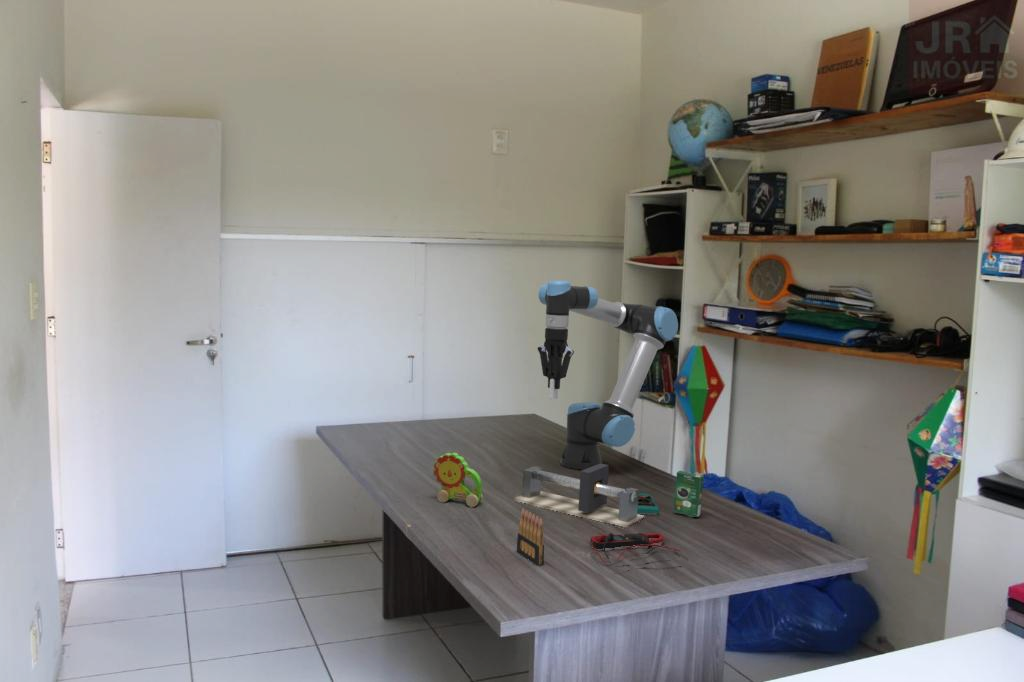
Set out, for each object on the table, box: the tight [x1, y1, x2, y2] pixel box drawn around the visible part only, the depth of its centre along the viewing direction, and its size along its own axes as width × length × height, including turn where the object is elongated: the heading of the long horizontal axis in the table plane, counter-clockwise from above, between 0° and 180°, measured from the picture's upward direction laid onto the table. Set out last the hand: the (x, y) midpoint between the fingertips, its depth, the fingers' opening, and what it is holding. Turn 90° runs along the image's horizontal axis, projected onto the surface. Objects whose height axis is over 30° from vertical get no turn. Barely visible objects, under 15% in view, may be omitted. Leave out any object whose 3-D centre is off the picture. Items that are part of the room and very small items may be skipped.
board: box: [513, 490, 645, 527], centre depth 259 cm, size 39×12×1 cm, turn 55°
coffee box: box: [673, 470, 705, 516], centre depth 257 cm, size 8×3×13 cm, turn 54°
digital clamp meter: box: [589, 532, 681, 564], centre depth 222 cm, size 23×4×25 cm
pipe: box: [521, 466, 640, 522], centre depth 258 cm, size 37×6×9 cm, turn 55°
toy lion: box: [432, 452, 484, 508], centre depth 260 cm, size 16×5×15 cm, turn 68°
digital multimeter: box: [637, 493, 660, 514], centre depth 264 cm, size 7×15×3 cm, turn 0°
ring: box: [578, 463, 610, 512], centre depth 255 cm, size 3×12×12 cm, turn 145°
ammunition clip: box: [516, 507, 545, 566], centre depth 217 cm, size 11×2×12 cm, turn 30°
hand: (553, 398), depth 281 cm, fingers closed
